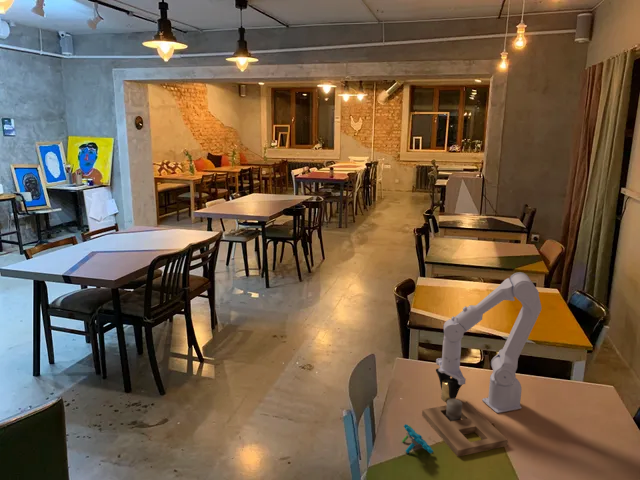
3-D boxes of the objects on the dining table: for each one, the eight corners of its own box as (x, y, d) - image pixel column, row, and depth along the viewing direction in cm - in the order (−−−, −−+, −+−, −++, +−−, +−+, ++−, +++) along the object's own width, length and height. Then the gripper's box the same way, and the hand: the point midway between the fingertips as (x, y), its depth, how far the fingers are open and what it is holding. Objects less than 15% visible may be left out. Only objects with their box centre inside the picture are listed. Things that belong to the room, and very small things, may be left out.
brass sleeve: (450, 394, 159) (451, 378, 158) (457, 401, 155) (459, 384, 153) (438, 396, 158) (439, 380, 156) (445, 403, 153) (447, 386, 152)
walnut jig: (466, 407, 151) (467, 390, 150) (507, 445, 133) (509, 427, 131) (422, 415, 147) (423, 398, 146) (457, 456, 128) (459, 437, 127)
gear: (440, 456, 126) (415, 433, 124) (425, 472, 126) (400, 450, 124) (424, 435, 137) (400, 415, 135) (410, 451, 137) (387, 430, 135)
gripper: (429, 347, 158) (427, 384, 161) (452, 368, 145) (449, 407, 148) (447, 345, 160) (445, 381, 163) (472, 365, 147) (469, 403, 150)
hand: (448, 393), depth 156 cm, fingers closed on brass sleeve, 4 cm apart
